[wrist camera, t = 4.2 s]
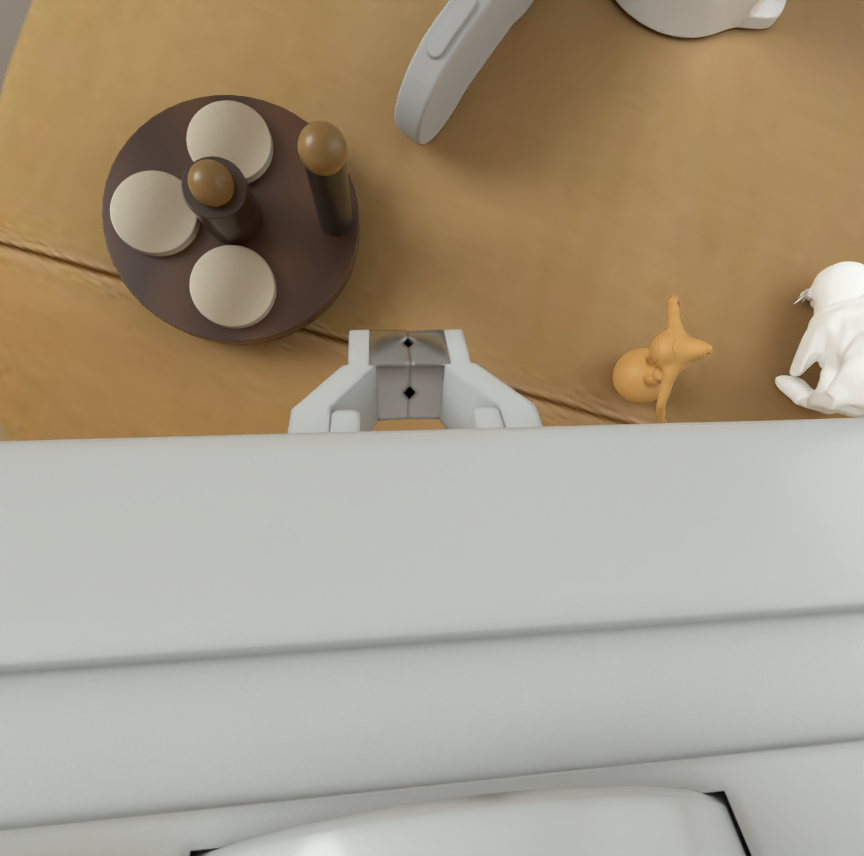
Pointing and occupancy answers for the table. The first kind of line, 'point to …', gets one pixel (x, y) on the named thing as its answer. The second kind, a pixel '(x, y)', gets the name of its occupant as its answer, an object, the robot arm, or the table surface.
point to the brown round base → (232, 218)
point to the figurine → (658, 363)
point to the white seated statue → (832, 344)
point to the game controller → (451, 62)
